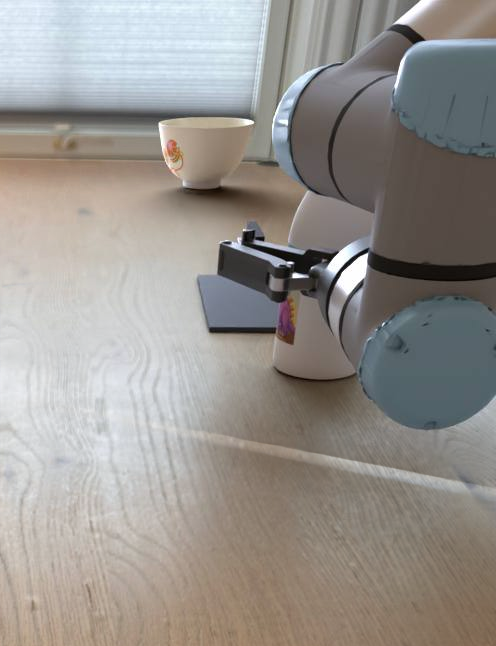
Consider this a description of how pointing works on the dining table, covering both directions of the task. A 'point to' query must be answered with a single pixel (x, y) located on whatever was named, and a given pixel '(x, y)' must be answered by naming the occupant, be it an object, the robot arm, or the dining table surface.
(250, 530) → the dining table surface
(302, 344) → the milk bottle
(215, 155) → the bowl
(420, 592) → the dining table surface
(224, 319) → the placemat
